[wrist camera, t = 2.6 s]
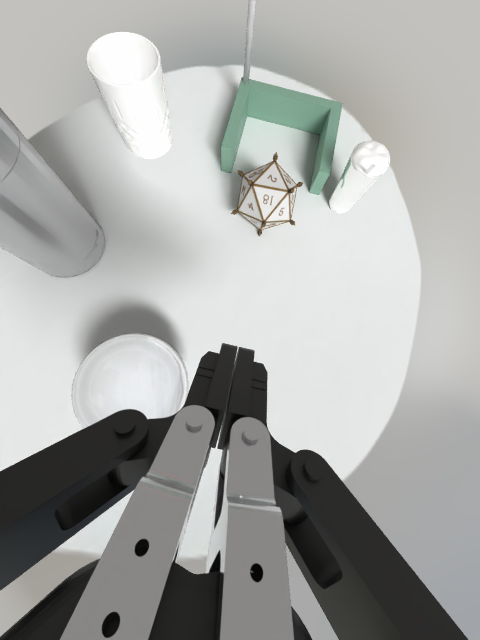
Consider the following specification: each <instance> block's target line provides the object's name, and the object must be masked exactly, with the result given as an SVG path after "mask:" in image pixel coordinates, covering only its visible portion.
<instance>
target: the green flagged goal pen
mask: <svg viewBox="0 0 480 640" xmlns="http://www.w3.org/2000/svg"><path fill="white" fill-rule="evenodd" d="M255 6H256V0H249V5H248V19H247V33H246V47H245V63H244V76H243V77H242V79H241V82H240V85H239V89H238V92H237V95H236V99H235V102H234V105H233V109H232V112H231V115H230V119H229V122H228V125H227V129H226V132H225V135H224V139H223V142H222V145H221V171H225V172H229V173H231V172H232V168H233V165H234V161H235V157H236V154H237V150H238V147H239V143H240V139H241V136H242V132H243V129H244V125H245V122H246V118H247V116H249V117H253V118H257V119H260V120H264V121H268V122H272V123H276V124H280V125H284V126H288V127H292V128H296V129H300V130H304V131H308V132H311V133H315V134H319V135H320V138H319V143H318V149H317V154H316V159H315V164H314V169H313V175H312V180H311V185H310V190H309V193H313V194H317V195H319V193H320V192H321V190H322V188H323V186H324V184H325V182H326V181H327V179H328V177H329V175H330V172H331V166H332V160H333V154H334V149H335V143H336V137H337V131H338V125H339V120H340V114H341V108H342V103H340V102H336V101H332V100H328V99H324V98H320V97H316V96H313V95H309V94H305V93H301V92H297V91H293V90H289V89H285V88H282V87H278V86H274V85H270V84H266V83H262V82H258V81H254V80H251V79H249V73H250V61H251V50H252V39H253V27H254V16H255Z"/></svg>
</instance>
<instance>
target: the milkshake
mask: <svg viewBox="0 0 480 640" xmlns="http://www.w3.org/2000/svg"><path fill="white" fill-rule="evenodd" d="M389 163H390V155H389V152H388V150H387V149H386V147H385V146H384V145H383V144H380V143H378V142H376V141H368V142H362V143H360V144H358V145H357V146H356V147H355V148H354V150H353V152H352V154H351V156H350V158H349V160H348V162H347V165H346V167H345V169H344V172H343V174H342V176H341V178H340V180H339V182H338V184H337V186H336V188H335V190H334V192H333V194H332V196H331V198H330V200H329V206H330V208H331V210H333V211H334V212H335V213H340V214H343V213H345V212H347V211H348V210H349V209H350V208H351V207H352V206H353V205H354V204H355V203H356V202H357V201H358V200H359V199H360V197H361V196H362V195H363V194H364V193H365V192H366V191H367V190H368V189H369V188H370V187H371V186H372V185H373V184H374V182H375V181H376V180H377V179H378V178H379V177H380V176H381V175H382V174H383V173H384V172H385V171H386V170H387V168H388V166H389Z"/></svg>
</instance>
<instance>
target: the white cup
mask: <svg viewBox="0 0 480 640" xmlns="http://www.w3.org/2000/svg"><path fill="white" fill-rule="evenodd" d="M86 61H87V65H88V68H89V70H90V72H91V74H92V76H93V78H94V80H95V82H96V85H97V86H98V89H99V91H100V93H101V95H102V97H103V99H104V101H105V103H106V106H107V108H108V110H109V112H110V114H111V116H112V117H113V119H114V122H115V124H116V126H117V128H118V129H119V131H120V133H121V134H122V137H123V139H124V141H125V143H126V145H127V147H128V149H129V150H130V151H131V152H132V153H133V154H134V155H136V156H138V157H141V158H143V159H155V158H158V157H160V156H163V155H164V154H165V153H166V152H167V151H168V150H169V149H170V147H171V144H172V134H171V129H170V120H169V119H170V118H169V111H168V103H167V97H166V91H165V85H164V79H163V72H162V66H161V60H160V54H159V52H158V49H157V48H156V46H155V45H154V44H153V43H152V42H151V41H150V40H148V39H147V38H145V37H143V36H141V35H138V34H135V33H131V32H115V33H110V34H107V35H104V36H102V37H100V38H98V39H97V40H96V41H95V42H93V44H92V45H91V46H90V48H89V49H88V52H87V56H86Z"/></svg>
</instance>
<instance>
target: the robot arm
mask: <svg viewBox="0 0 480 640" xmlns="http://www.w3.org/2000/svg"><path fill="white" fill-rule="evenodd" d="M104 244H105V239H104V235H103V232H102V230H101V228H100V226H99V225H98V224H97V223H96V222H95V220H94V219H93V218H92V217H91V216H90V214H89V213H88V212H87V211H86V210H85V208H84V207H83V206H82V205H81V203H80V202H79V201H78V200H77V199H76V197H75V196H74V195H73V194H72V193H71V191H70V190H69V189H68V188H67V187H66V185H65V184H64V183H63V182H62V181H61V179H60V178H59V177H58V176H57V175H56V174H55V172H54V171H53V170H52V169H51V168H50V166H49V165H48V164H47V163H46V162H45V160H44V159H43V158H42V157H41V156H40V154H39V153H38V152H37V151H36V150H35V148H34V147H33V146H32V145H31V144H30V143H29V141H28V140H27V139H26V138H25V137H24V135H23V134H22V133H21V132H20V131H19V129H18V128H17V127H16V126H15V125H14V123H13V122H12V121H11V120H10V119H9V118H8V117H7V115H6V114H5V113H4V112H3V111H2V109H1V108H0V247H1V248H3V249H5V250H7V251H8V252H10V253H12V254H14V255H16V256H17V257H19V258H21V259H22V260H24V261H26V262H28V263H29V264H31V265H33V266H35V267H36V268H38V269H40V270H42V271H44V272H46V273H48V274H50V275H53V276H57V277H72V276H76V275H79V274H82V273H84V272H86V271H87V270H89V269H90V268H91V267H93V266H94V265H95V264H96V263H97V261H98V260H99V259H100V257H101V255H102V253H103V250H104ZM236 353H237V346H233V345H229V344H225V343H222V347H221V350H220V354H218V353H214V352H210V351H208V352H207V353H206V354H205V355H204V356H203V357H202V358H201V360H200V363H199V366H198V369H197V371H196V374H195V377H194V379H193V382H192V385H191V388H190V390H189V393H188V396H187V398H186V401H185V404H184V406H183V407H182V408H181V409H180V410H179V411H178V412H177V413H175V414H174V415H171V416H169V417H165V418H155V419H147V417H146V416H145V415H144V414H143V413H142V412H140V411H138V410H135V409H125V410H121V411H118V412H116V413H114V414H112V415H110V416H108V417H106V418H104V419H102V420H100V421H98V422H96V423H94V424H92V425H90V426H88V427H86V428H84V429H82V430H80V431H78V432H76V433H74V434H72V435H71V436H69V437H67V438H65V439H63V440H61V441H59V442H57V443H55V444H53V445H51V446H49V447H47V448H45V449H43V450H41V451H39V452H37V453H35V454H33V455H31V456H30V457H28V458H26V459H24V460H22V461H20V462H18V463H16V464H14V465H12V466H10V467H8V468H6V469H4V470H2V471H0V590H2V589H3V588H4V587H6V586H7V585H8V584H10V583H11V582H12V581H14V580H15V579H16V578H18V577H19V576H20V575H22V574H23V573H24V572H25V571H27V570H28V569H30V568H31V567H32V566H33V565H35V564H36V563H38V562H39V561H40V560H41V559H43V558H44V557H45V556H47V555H48V554H49V553H51V552H52V551H53V550H55V549H56V548H57V547H59V546H60V545H61V544H63V543H64V542H65V541H67V540H68V539H69V538H71V537H72V536H73V535H75V534H76V533H77V532H79V531H80V530H81V529H82V528H84V527H85V526H86V525H88V524H89V523H90V522H92V521H93V520H94V519H96V518H97V517H98V516H100V515H101V514H102V513H104V512H105V511H106V510H108V509H109V508H110V507H112V506H113V505H114V504H116V503H117V502H118V501H120V500H121V499H122V498H123V497H125V496H126V495H127V494H129V493H130V492H131V491H133V490H134V489H135V490H134V492H133V494H132V496H131V498H130V500H129V502H128V504H127V506H126V508H125V510H124V512H123V514H122V516H121V518H120V520H119V522H118V524H117V526H116V528H115V530H114V532H113V534H112V536H111V538H110V540H109V542H108V544H107V546H106V548H105V550H104V552H103V554H102V556H101V558H100V559H98V560H96V561H93V562H91V563H89V564H88V565H86V566H84V567H82V568H81V569H79V570H78V571H76V572H75V573H74V574H72V575H71V576H69V577H68V578H66V579H65V580H64V581H63V582H62V583H61V584H59V585H58V586H57V587H56V588H55V589H54V590H53V591H51V592H50V593H49V594H48V595H47V596H46V597H45V598H44V599H43V600H41V601H40V602H39V603H38V604H37V605H36V606H35V607H34V608H33V609H31V610H30V611H29V612H28V613H27V614H26V615H24V616H23V617H22V618H21V619H20V620H19V621H18V622H17V623H16V624H14V625H13V626H12V627H11V628H10V629H9V630H8V631H6V632H5V633H4V634H3V635H2V636H1V637H0V640H312V638H311V636H310V634H309V632H308V630H307V629H306V627H305V625H304V624H303V622H302V620H301V619H300V617H299V616H298V614H297V613H296V612H295V610H294V609H293V608H292V606H291V600H290V589H289V578H288V567H287V556H286V546H285V543H286V545H287V546H288V548H289V550H290V552H291V554H292V555H293V557H294V559H295V561H296V563H297V565H298V566H299V568H300V570H301V572H302V574H303V575H304V577H305V579H306V581H307V583H308V584H309V586H310V588H311V590H312V592H313V593H314V595H315V597H316V599H317V601H318V603H319V604H320V606H321V608H322V610H323V612H324V613H325V615H326V617H327V619H328V621H329V622H330V624H331V626H332V628H333V630H334V632H335V633H336V635H337V637H338V639H339V640H468V639H467V637H466V636H465V635H464V634H463V632H462V631H461V630H460V629H459V628H458V626H457V625H456V624H455V622H454V621H453V620H452V619H451V617H450V616H449V615H448V614H447V612H446V611H445V610H444V609H443V608H442V606H441V605H440V604H439V602H438V601H437V600H436V599H435V597H434V596H433V595H432V594H431V592H430V591H429V590H428V589H427V587H426V586H425V585H424V584H423V582H422V581H421V580H420V579H419V577H418V576H417V575H416V573H415V572H414V571H413V570H412V569H411V567H410V566H409V565H408V563H407V562H406V561H405V560H404V559H403V557H402V556H401V555H400V553H399V552H398V551H397V550H396V548H395V547H394V546H393V545H392V543H391V542H390V541H389V540H388V538H387V537H386V536H385V535H384V534H383V532H382V531H381V530H380V528H379V527H378V526H377V525H376V523H375V522H374V521H373V520H372V518H371V517H370V516H369V515H368V513H367V512H366V511H365V510H364V508H363V507H362V506H361V504H360V503H359V502H358V501H357V499H356V498H355V497H354V496H353V494H352V493H351V492H350V491H349V489H348V488H347V487H346V486H345V484H344V483H343V482H342V481H341V479H340V478H339V477H338V476H337V474H336V473H335V472H334V471H333V469H332V468H331V467H330V466H329V464H328V463H327V462H326V461H325V460H324V458H322V457H321V456H320V455H319V454H317V453H315V452H313V451H311V450H300V451H298V452H296V453H294V452H293V451H291V450H289V449H288V448H286V447H284V446H282V445H281V444H279V443H278V442H277V441H276V440H275V439H274V438H273V437H272V436H271V434H270V432H269V430H268V428H267V422H266V419H267V371H266V369H265V367H264V365H263V364H261V363H257V362H254V350H250V349H246V348H242V347H239V349H238V353H237V357H236ZM235 358H236V361H235ZM234 363H235V364H234ZM221 425H222V427H221ZM220 429H221V432H220ZM219 432H220V437H219V443H218V448H217V449H222V450H223V452H222V458H221V463H220V466H219V469H218V477H217V486H216V496H215V505H214V515H213V524H212V532H211V538H210V543H209V549H208V555H207V563H206V572H205V573H204V574H193V573H191V572H189V571H188V570H186V569H185V568H183V567H181V566H180V565H178V564H177V563H176V561H177V558H178V555H179V551H180V548H181V544H182V541H183V537H184V534H185V530H186V527H187V523H188V520H189V517H190V513H191V510H192V506H193V503H194V500H195V496H196V493H197V490H198V486H199V483H200V480H201V476H202V473H203V470H204V468H205V466H206V464H207V461H208V457H209V454H210V450H211V447H212V448H215V447H216V443H217V440H218V436H219Z"/></svg>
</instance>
